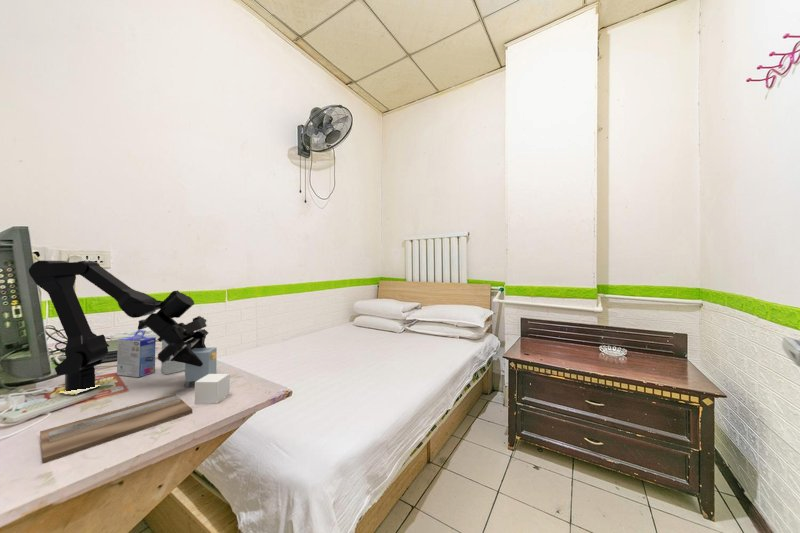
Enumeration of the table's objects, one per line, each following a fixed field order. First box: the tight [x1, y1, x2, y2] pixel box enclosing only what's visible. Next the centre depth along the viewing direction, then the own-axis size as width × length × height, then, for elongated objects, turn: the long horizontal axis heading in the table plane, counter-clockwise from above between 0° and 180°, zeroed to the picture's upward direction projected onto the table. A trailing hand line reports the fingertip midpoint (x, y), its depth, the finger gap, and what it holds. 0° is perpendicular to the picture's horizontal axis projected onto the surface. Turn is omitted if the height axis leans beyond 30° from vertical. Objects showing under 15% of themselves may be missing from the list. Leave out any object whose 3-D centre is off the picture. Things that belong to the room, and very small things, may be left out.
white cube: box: [194, 373, 231, 405], centre depth 82 cm, size 6×6×6 cm
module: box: [184, 346, 218, 389], centre depth 92 cm, size 7×6×10 cm
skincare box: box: [160, 340, 185, 376], centre depth 103 cm, size 8×6×15 cm
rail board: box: [39, 393, 193, 464], centre depth 69 cm, size 14×24×2 cm, turn 142°
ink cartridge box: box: [116, 329, 157, 378], centre depth 99 cm, size 10×6×14 cm, turn 78°
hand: (206, 362), depth 92 cm, fingers closed on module, 5 cm apart
